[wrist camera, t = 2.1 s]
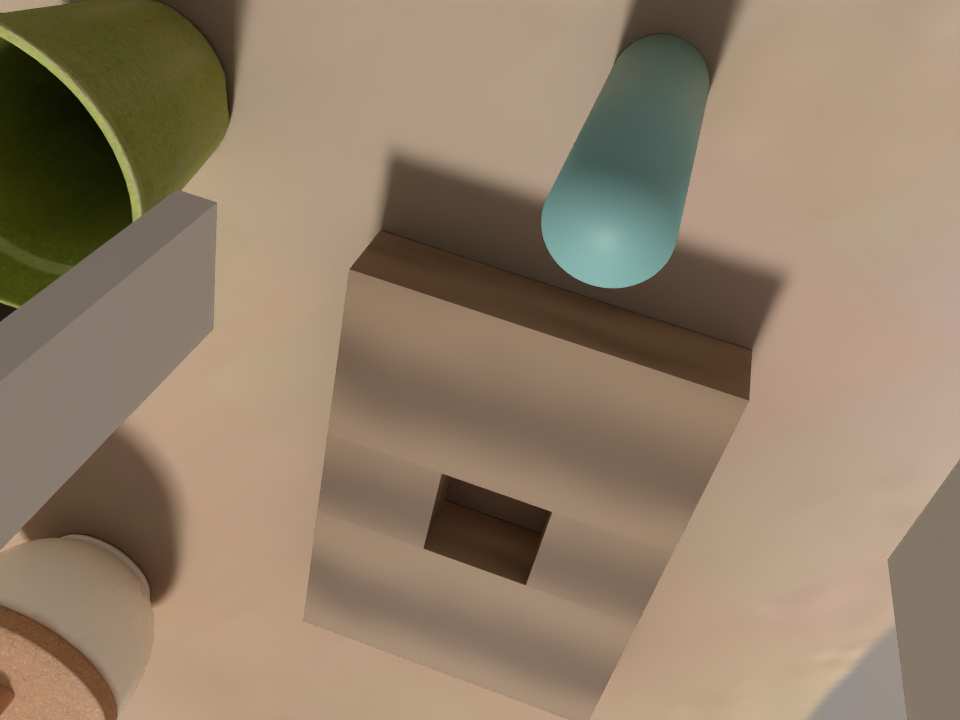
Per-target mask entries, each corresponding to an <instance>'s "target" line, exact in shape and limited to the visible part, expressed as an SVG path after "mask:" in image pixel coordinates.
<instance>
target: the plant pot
mask: <svg viewBox="0 0 960 720" xmlns="http://www.w3.org/2000/svg"><path fill="white" fill-rule="evenodd" d="M228 124H229V112H228V105H227V93H226V77H225V74H224V70H223V68H222V66H221V63H220V61H219V59H218V57H217V56H216V54H215V52H214V50H213V49H212V47H211V45H210V44H209V43H208V41H207V40H206V38H205V37H204V36H203V35H202V34H201V33H200V31H199V30H198V29H197V28H196V27H195V26H194V25H193V24H192V23H191V22H189V21H188V20H187V19H186V18H185V17H183V16H182V15H181V14H179V13H178V12H177V11H175V10H173V9H172V8H170V7H169V6H167V5H165V4H162V3H160V2H157V1H153V0H88V1H83V2H77V3H71V4H64V5H57V6H49V7H42V8H35V9H28V10H22V11H15V12H7V13H0V303H3V304H6V305H9V306H12V307H15V308H19V307H21V306H22V305H23V304H25V303H26V302H27V301H29V300H30V299H31V298H33V297H34V296H35V295H37V294H38V293H39V292H41V291H42V290H43V289H45V288H46V287H47V286H49V285H50V284H51V283H53V282H54V281H55V280H57V279H58V278H59V277H61V276H62V275H63V274H65V273H66V272H67V271H69V270H70V269H71V268H73V267H74V266H75V265H77V264H78V263H79V262H81V261H82V260H83V259H85V258H86V257H87V256H89V255H90V254H91V253H93V252H94V251H95V250H97V249H98V248H99V247H101V246H102V245H103V244H105V243H106V242H107V241H109V240H110V239H111V238H113V237H114V236H115V235H117V234H118V233H119V232H121V231H122V230H123V229H125V228H126V227H127V226H129V225H130V224H131V223H133V222H134V221H135V220H137V219H138V218H139V217H141V216H142V215H143V214H145V213H146V212H147V211H149V210H150V209H151V208H153V207H154V206H155V205H157V204H158V203H159V202H161V201H162V200H163V199H165V198H166V197H167V196H169V195H170V194H172V193H173V192H174V191H176V190H180V191H181V190H182V189H183V188H184V187H185V186H186V184H187V183H188V182H189V181H190V180H191V178H192V177H193V176H194V175H195V174H196V173H197V171H198V170H199V169H200V168H201V167H202V166H203V165H204V163H205V162H206V161H207V160H208V158H209V157H210V156H211V155H212V153H213V152H214V151H215V150H216V149H217V147H218V146H219V145H220V143H221V141H222V139H223V138H224V136H225V133H226V131H227V128H228Z"/></svg>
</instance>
